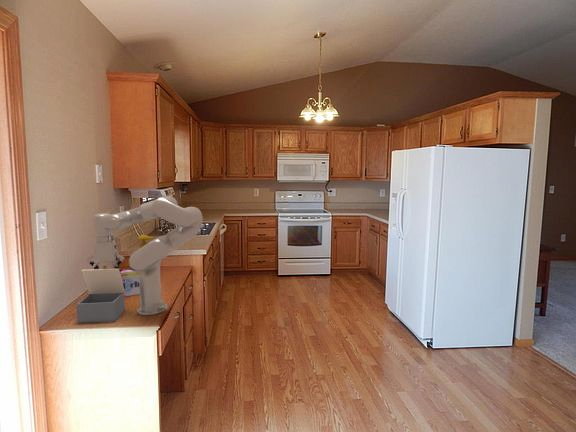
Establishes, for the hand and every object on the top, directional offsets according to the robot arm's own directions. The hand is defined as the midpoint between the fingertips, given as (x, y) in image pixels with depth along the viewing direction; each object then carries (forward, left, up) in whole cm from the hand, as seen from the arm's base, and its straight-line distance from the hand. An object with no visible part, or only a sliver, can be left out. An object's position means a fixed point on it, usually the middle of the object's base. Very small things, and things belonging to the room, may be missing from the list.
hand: (106, 274), depth 181 cm
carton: (-3, +8, -18) cm, 20 cm away
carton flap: (-2, +4, -2) cm, 5 cm away
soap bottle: (+11, -46, -18) cm, 50 cm away
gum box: (+7, -21, -18) cm, 29 cm away
